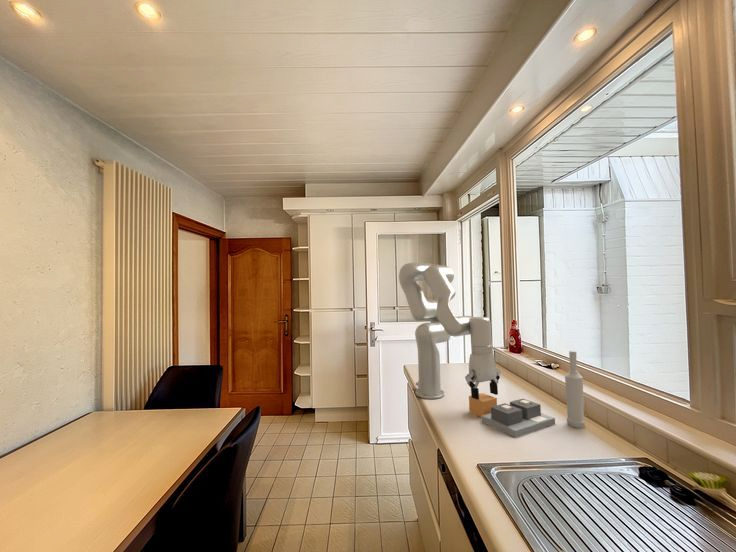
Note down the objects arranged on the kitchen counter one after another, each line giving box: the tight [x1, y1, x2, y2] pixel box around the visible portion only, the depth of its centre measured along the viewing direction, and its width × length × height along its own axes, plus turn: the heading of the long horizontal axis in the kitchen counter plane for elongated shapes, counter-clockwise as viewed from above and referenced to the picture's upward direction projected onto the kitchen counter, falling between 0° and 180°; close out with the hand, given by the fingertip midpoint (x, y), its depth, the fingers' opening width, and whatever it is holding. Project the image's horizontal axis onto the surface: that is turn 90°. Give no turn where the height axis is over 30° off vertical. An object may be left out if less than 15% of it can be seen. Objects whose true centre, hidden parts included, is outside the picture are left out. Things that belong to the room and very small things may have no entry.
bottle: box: [564, 350, 586, 429], centre depth 111 cm, size 5×5×25 cm
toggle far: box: [520, 399, 530, 405], centre depth 116 cm, size 2×2×4 cm
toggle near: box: [501, 404, 512, 411], centre depth 112 cm, size 2×2×4 cm
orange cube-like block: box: [468, 392, 498, 419], centre depth 123 cm, size 7×7×6 cm
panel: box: [481, 398, 556, 438], centre depth 114 cm, size 14×20×6 cm
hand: (484, 396), depth 122 cm, fingers open, 9 cm apart
